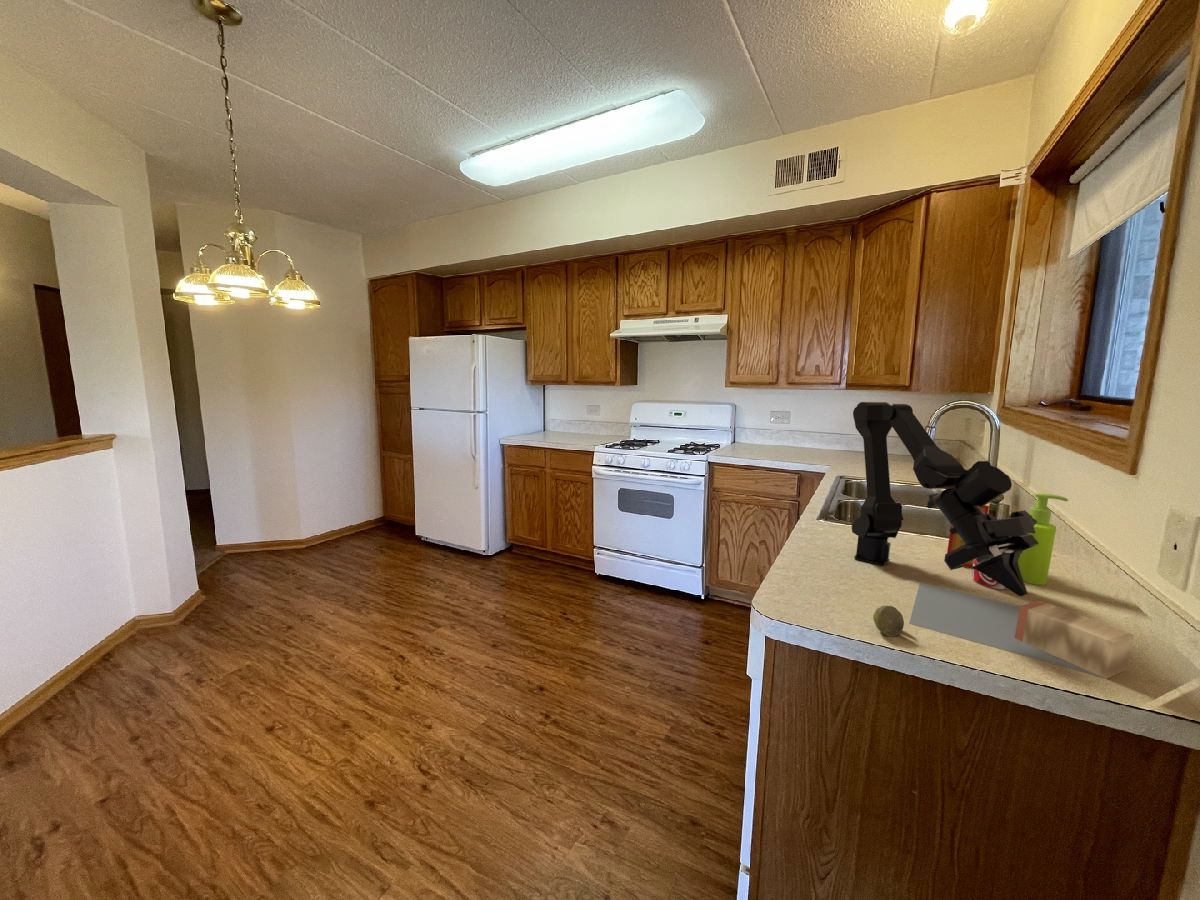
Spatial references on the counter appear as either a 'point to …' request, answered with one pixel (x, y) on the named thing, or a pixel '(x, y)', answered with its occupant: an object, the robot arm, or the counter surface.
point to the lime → (888, 620)
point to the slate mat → (976, 621)
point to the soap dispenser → (1039, 556)
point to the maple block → (1074, 638)
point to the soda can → (985, 579)
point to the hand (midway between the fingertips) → (1024, 595)
